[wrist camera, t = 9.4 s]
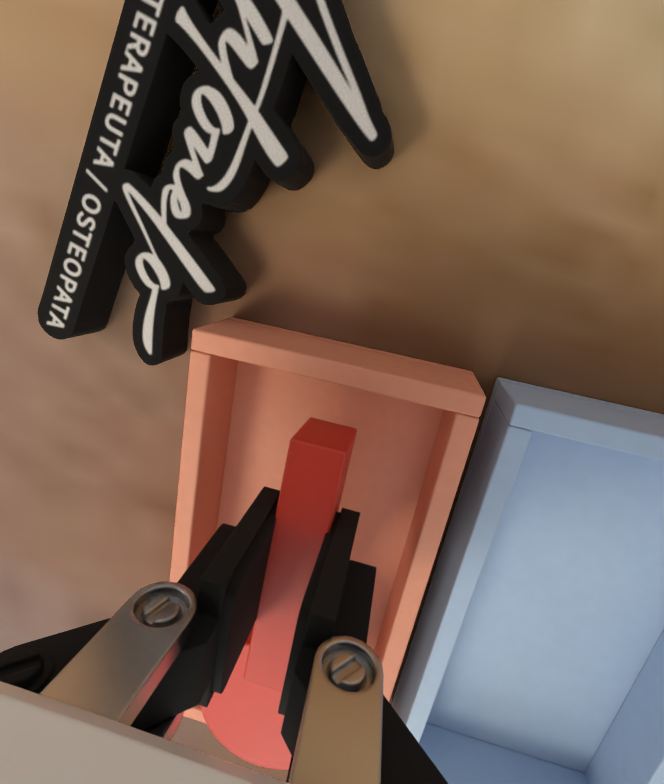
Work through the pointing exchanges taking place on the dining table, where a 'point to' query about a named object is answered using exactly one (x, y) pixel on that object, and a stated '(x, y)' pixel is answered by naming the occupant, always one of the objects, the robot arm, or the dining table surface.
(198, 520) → the red bin
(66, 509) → the dining table surface
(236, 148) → the nameplate
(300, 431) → the red spoon
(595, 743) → the blue bin
